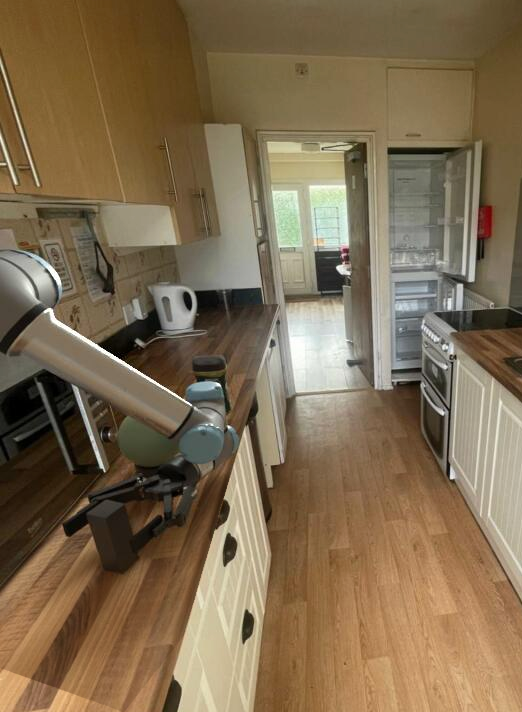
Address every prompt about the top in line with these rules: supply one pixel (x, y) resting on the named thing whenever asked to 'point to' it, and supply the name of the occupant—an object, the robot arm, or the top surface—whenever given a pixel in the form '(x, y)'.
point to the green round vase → (145, 447)
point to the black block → (112, 535)
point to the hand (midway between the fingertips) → (98, 538)
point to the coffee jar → (212, 373)
